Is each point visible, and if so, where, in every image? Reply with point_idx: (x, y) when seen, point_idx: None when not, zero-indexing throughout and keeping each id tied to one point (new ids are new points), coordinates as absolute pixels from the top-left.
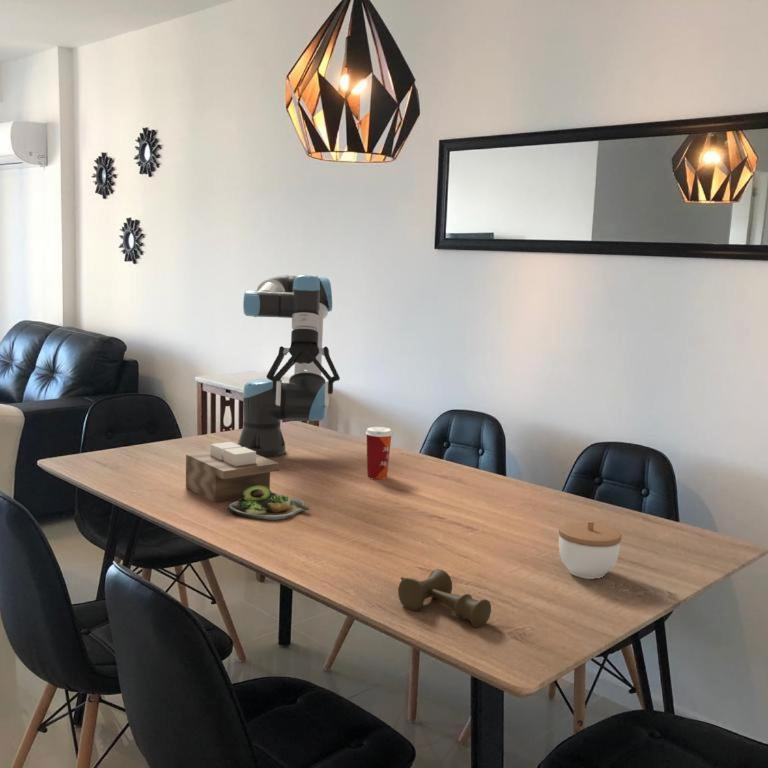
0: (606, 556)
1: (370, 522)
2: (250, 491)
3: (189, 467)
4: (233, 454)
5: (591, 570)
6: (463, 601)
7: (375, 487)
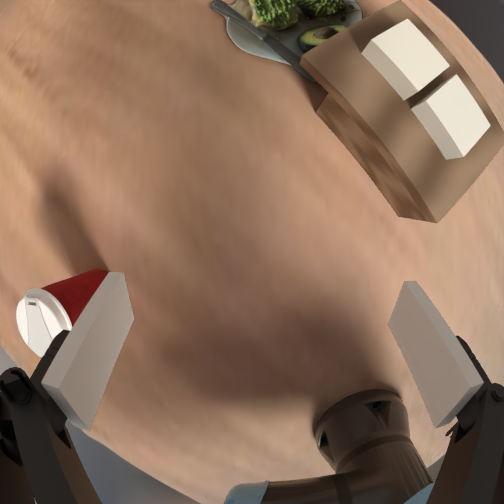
0: None
1: (116, 10)
2: None
3: None
4: (414, 27)
5: None
6: None
7: (94, 205)
